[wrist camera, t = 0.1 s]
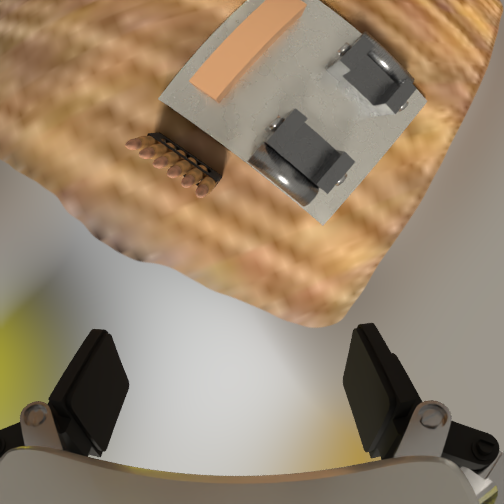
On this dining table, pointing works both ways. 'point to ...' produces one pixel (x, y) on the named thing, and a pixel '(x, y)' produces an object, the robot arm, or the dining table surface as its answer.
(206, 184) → the ammunition clip
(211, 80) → the bar
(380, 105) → the plate with roller
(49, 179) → the dining table surface
